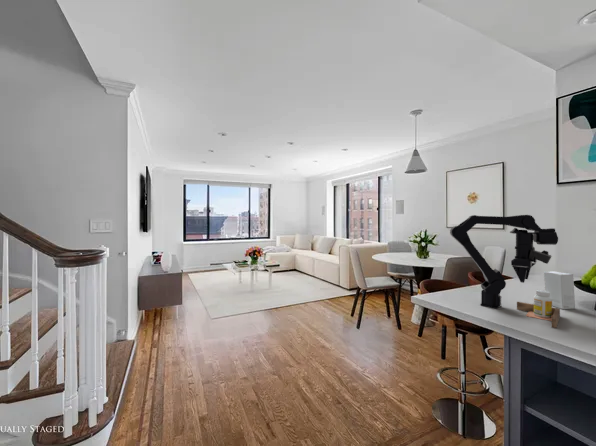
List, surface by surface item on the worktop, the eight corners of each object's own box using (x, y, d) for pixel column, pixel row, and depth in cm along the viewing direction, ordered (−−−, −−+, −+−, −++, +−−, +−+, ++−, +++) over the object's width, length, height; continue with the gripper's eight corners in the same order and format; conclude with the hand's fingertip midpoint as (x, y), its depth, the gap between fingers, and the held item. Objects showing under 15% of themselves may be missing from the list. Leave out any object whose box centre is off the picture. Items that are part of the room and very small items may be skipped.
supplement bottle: (534, 316, 108) (534, 291, 108) (532, 312, 112) (533, 288, 112) (552, 319, 105) (553, 294, 105) (550, 315, 109) (550, 290, 109)
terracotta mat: (526, 316, 109) (526, 315, 109) (529, 311, 114) (529, 310, 114) (553, 321, 103) (553, 320, 103) (555, 316, 108) (555, 315, 108)
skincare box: (575, 309, 117) (575, 274, 117) (561, 309, 116) (562, 274, 116) (556, 303, 125) (556, 270, 125) (543, 303, 125) (543, 270, 125)
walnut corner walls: (509, 318, 106) (509, 310, 106) (517, 308, 118) (517, 301, 118) (556, 328, 97) (556, 319, 97) (559, 316, 108) (559, 308, 108)
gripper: (547, 247, 105) (547, 287, 105) (552, 243, 118) (551, 280, 118) (511, 245, 113) (510, 283, 113) (519, 242, 126) (518, 276, 126)
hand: (524, 280), depth 118 cm, fingers open, 9 cm apart
